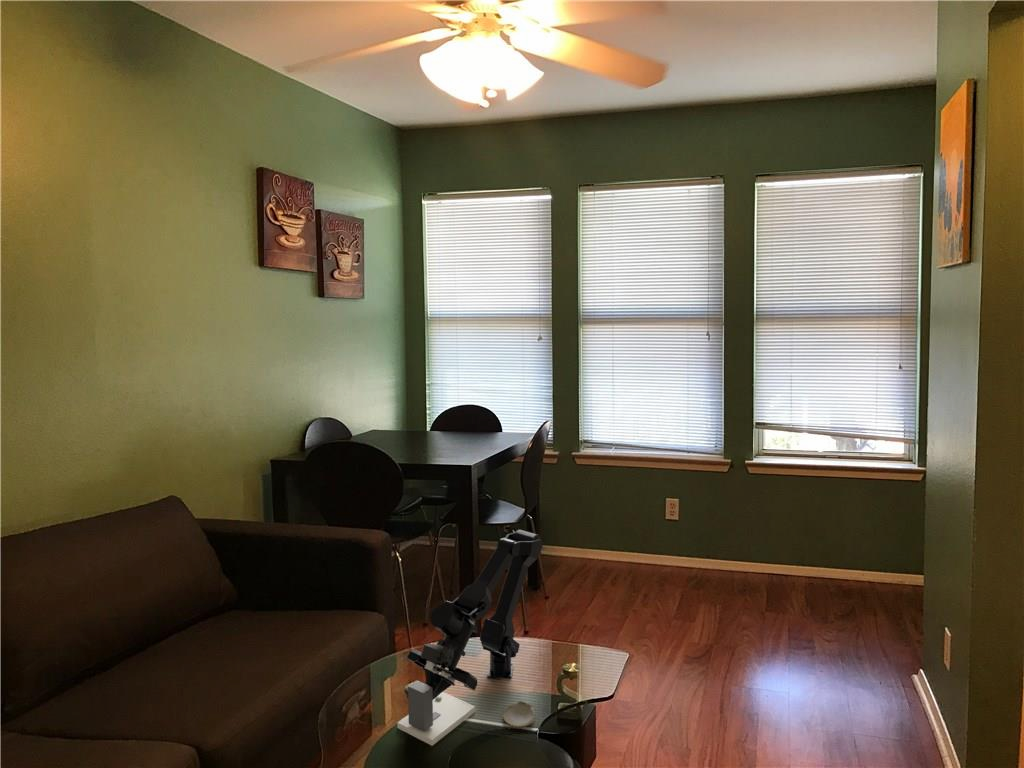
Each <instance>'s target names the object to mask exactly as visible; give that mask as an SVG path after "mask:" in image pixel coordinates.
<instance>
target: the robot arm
mask: <svg viewBox="0 0 1024 768" xmlns="http://www.w3.org/2000/svg"><path fill="white" fill-rule="evenodd" d="M543 544H544V543H543V540H542V538H541V535H539V534H538V533H537V534H536V533H534V532H530V531H526V530H522V529H517V530H516V531H514V532H511V533H508V534H506V536H505V537H502V538H499V540H498V541H497V545H496V549H494V552H493V553H492V555H491V556H490V558H489V560H487V561H488V562H487V563H486V564H485V566H484V567H483V570H482V571H481V572H480V574H479V576H478V577H477V578H476V579H475V581H474V582H473V583H471V584H469V585H467V586H466V587H465V588H464V589H463V590H462V592H461V593H460V594H459V596H457V597H456V598H455V599H454V600H452V601H448V600H445V601H444V603H443V604H440V605H439V606H436V607H435V608H434V609H433V610H432V612H431V614H430V623H431V625H432V626H433V627H434V628H436V629H437V630H438V631H440V632H441V633H442V634H444V635H445V636H444V637H443V639H442V638H440V639H439V640H438V641H437V643H436V644H434V643H424V644H423V647H422V651H419V650H417V649H415V648H412V649H410V651H409V652H408V653H407V656H406V657H405V659H406V660H408V661H410V662H412V664H414V665H416V666H418V667H420V668H421V670H422V671H424V674H425V684H426V685H428V686H430V687H432V691H433V700H434V699H435V698H436V697H437V696H438V695H439V694H440V693H442V692H444V691H446V690H447V689H448V688H450V687H451V686H453V687H454V686H456V683H455V682H456V681H457V682H458V683H459V682H460V683H461V684H463V686H464V687H465V688H467V689H470V690H472V691H474V692H475V691H476V689H477V686H478V678H477V677H476V676H474V675H473V674H472V673H470V672H468V671H466V670H464V669H462V668H460V667H457V666H458V664H459V661H460V659H461V658H462V657H465V656H466V653H467V652H466V651H465V649H466V647H467V644H468V643H469V641H470V638H471V637H472V634H473V632H474V633H478V632H479V631H478V626H477V621H479V620H483V619H484V618H485V617H486V616H487V614H488V612H489V609H490V607H491V605H492V594H493V592H494V590H495V588H496V587H497V585H498V583H499V581H500V580H501V578H502V577H503V575H504V573H505V571H507V573H506V576H505V579H504V582H503V585H502V589H501V592H500V594H499V595H500V596H499V598H498V602H497V605H496V607H495V612H494V613H493V615H491V616H490V618H485V619H484V621H483V624H482V628H481V630H480V632H479V641H480V644H481V647H482V650H484V651H488V652H489V665H488V670H487V674H486V677H487V678H495V679H496V678H497V679H507V680H508V679H512V677H513V672H514V665H515V664H513V663H512V658H516V657H517V654H518V653H519V651H520V643H519V642H517V641H516V640H515V639H514V637H515V627H514V621H513V618H514V616H515V615H514V614H515V612H516V609H517V605H518V602H519V598H520V596H521V592H522V589H523V585H524V583H525V580H526V576H527V573H528V570H529V568H530V566H531V565H532V564H534V562H535V561H536V560H538V557H539V554H540V553H541V551H542V549H543ZM507 568H508V570H507Z"/></svg>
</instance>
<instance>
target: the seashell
mask: <svg viewBox="0 0 1024 768" xmlns="http://www.w3.org/2000/svg"><path fill="white" fill-rule="evenodd" d="M502 718H503V721H504V723H507V724H508V725H509V726H511V727H515V728H523V727H528V726H529V725H531V724H532V723H534V721H535V718H536V716H535V706H534V705H533V704H531V703H527V702H524V701H522V700H521V701H520V700H519V701H518V702H517V703H515V704H511V705H508V706H506V707H505V708H504V709H503V710H502Z"/></svg>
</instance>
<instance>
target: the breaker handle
mask: <svg viewBox="0 0 1024 768" xmlns="http://www.w3.org/2000/svg"><path fill="white" fill-rule="evenodd" d="M407 698H408V699H407V700H408V701H407V703H408V704H407V705H408V706H407V707H408V709H407V710H408V713H407V714H408V715H409V724H410V725H412V726H414V727H416V728H418V729H420V730H422V731H424V732H425V731H426V730H427V729H429V728H430V727H431V726H433V691H432V687H430V686H428V685H426V683H424V682H422V681H419V680H418V679H416V680H414V681H413V682H412V683H410V684H409V685H408V686H407Z"/></svg>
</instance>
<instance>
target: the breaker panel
mask: <svg viewBox="0 0 1024 768" xmlns="http://www.w3.org/2000/svg"><path fill="white" fill-rule="evenodd" d="M475 713H476V706H475V705H473V704H471V703H468V702H466V701H464V700H461V698H457V697H456V696H453V695H450V694H449V693H446V692H444V691H443V692H442V693H440V694H439V695H438V696H437V697H436V698H435V699H434V700H433V726H431V727H430V728H429V729H427V730H426V731H425V732H424V731H422V730H420V729H418V728H416V727H414V726H412V725H410V724H409V714H407V715H406V716H404V717H403V718H401V719H399V721H398V722H397V729H399V730H400V731H403V732H404V733H407V734H408V735H411V736H412V737H413V738H414V737H415V738H416V739H418V740H420V741H422V742H424V743H426V744H428V745H430V746H431V747H432V746H434V745H435V744H436V743H438V742H439V741H441V740H442V739H443V738H445V737H446V736H447V735H448V734H449V733H450V732H452V731H453V730H454V729H455V728H457V727H458V726H459V725H461V724H462V723H463V722H465V721H466V720H467V719H468V718H469V717H471V716H472V715H473V714H475Z"/></svg>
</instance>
